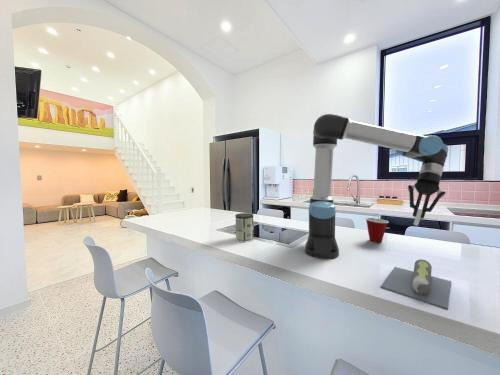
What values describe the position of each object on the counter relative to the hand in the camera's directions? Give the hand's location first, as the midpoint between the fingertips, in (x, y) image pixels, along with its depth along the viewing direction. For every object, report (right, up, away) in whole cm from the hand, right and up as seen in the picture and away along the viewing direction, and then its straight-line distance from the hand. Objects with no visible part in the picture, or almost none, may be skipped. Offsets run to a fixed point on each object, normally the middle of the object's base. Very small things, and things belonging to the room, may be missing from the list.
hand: (415, 224), depth 88 cm
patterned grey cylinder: (-5, -14, -10) cm, 17 cm away
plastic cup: (0, -14, +27) cm, 30 cm away
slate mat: (-14, -17, -18) cm, 28 cm away
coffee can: (-72, -14, +33) cm, 81 cm away
